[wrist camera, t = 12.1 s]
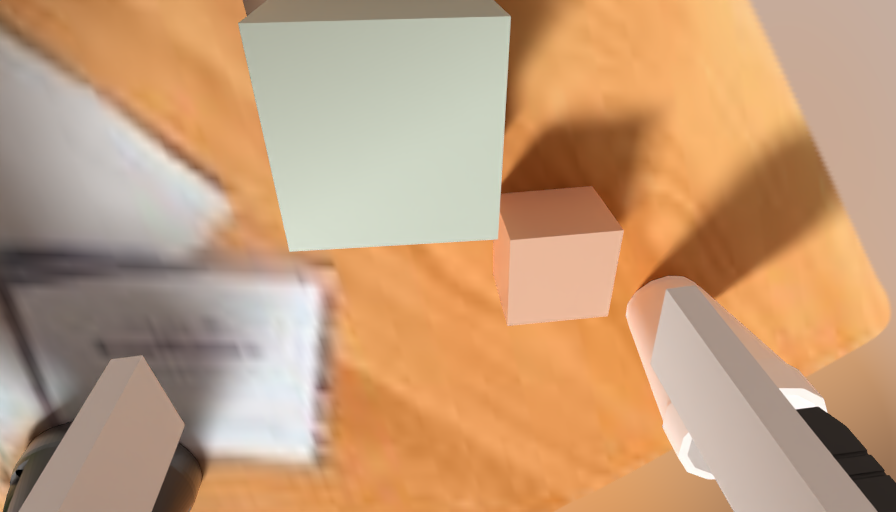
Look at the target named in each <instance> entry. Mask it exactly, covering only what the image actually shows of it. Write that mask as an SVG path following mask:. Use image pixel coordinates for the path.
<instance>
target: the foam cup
mask: <svg viewBox="0 0 896 512" xmlns="http://www.w3.org/2000/svg"><path fill="white" fill-rule="evenodd" d="M693 285H696V286H697V287H698V289H699V290H700V291H701V292H702V294H703V295H704V296H705V297H706V299H707V300H708V301H709V302H710V304H711V305H712V306H713V307H714V309H715V310H716V311H717V312H718V314H719V315H720V316H721V317H722V319H723V320H724V321H725V322H726V324H727V325H728V326H729V327H730V329H731V330H732V331H733V332H734V334H735V335H736V336H737V337H738V339H739V340H740V341H741V342H742V343H743V345H744V346H745V347H746V348H747V350H748V351H749V352H750V353H751V355H752V356H753V357H754V358H755V360H756V361H757V362H758V363H759V365H760V366H761V367H762V368H763V370H764V371H765V372H766V373H767V375H768V376H769V377H770V378H771V380H772V381H773V382H774V383H775V385H776V386H777V387H778V388H779V390H780V391H781V392H782V393H783V395H784V396H785V397H786V398H787V400H788V401H789V402H790V403H791V404H792V406H793V407H794V408H795V409H803V408H810V407H820V408H821V409H823V410H824V411H825V412H827V410H826V406H825V402H824V399H823V397H822V396H821V395H820V394H819V393H818V392H817V391H816V389H815V388H814V387H813V386H812V385H811V384H810V383H809V382H808V380H807V379H806V378H805V377H804V376H803V374H802V373H801V372H800V371H799V370H798V369H796V368H794V367H792V366H790V365H789V364H787V363H785V362H784V361H783V360H782V359H781V358H780V357H779V356H778V355H776V354H775V353H774V352H773V351H772V350H771V349H770V348H769V347H767V346H766V345H765V344H764V343H763V342H762V341H761V340H760V339H758V338H757V337H756V336H755V335H754V334H753V333H752V332H751V331H749V330H748V329H747V328H746V327H745V326H744V325H743V324H742V323H740V322H739V321H738V320H737V319H736V318H735V317H734V316H733V315H731V314H730V313H729V312H728V311H727V310H726V309H725V308H724V307H722V306H721V305H720V304H719V303H718V302H717V301H716V300H715V299H713V298H712V297H711V296H710V295H709V294H708V293H707V292H706V291H704V290H703V289H702V288H701V287H700V286H698V285H697V284H696V283H695V282H693V281H691V280H690V279H688V278H686V277H684V276H665V277H662V278H659V279H656V280H653V281H650V282H649V283H647V284H646V285H645V286H643V287H642V288H640V289H639V290H637V291H636V292H635V294H634V295H633V297H632V298H631V300H630V301H629V303H628V304H627V311H626V318H627V320H628V325H629V327H630V330H631V333H632V336H633V338H634V341H635V344H636V347H637V350H638V352H639V355H640V358H641V361H642V363H643V366H644V369H645V372H646V375H647V377H648V380H649V383H650V386H651V388H652V391H653V394H654V397H655V399H656V402H657V405H658V408H659V411H660V413H661V416H662V419H663V426H662V427H663V429H664V431H665V433H666V435H667V437H668V439H669V441H670V443H671V445H672V447H673V449H674V451H675V452H676V454H677V456H678V458H679V460H680V461H681V463H682V464H683V466H684V467H685V469H686V471H687V472H689V473H691V474H694V475H697V476H700V477H703V478H706V479H715V478H714V476H713V474H712V472H711V471H710V469H709V467H708V465H707V464H706V462H705V460H704V458H703V456H702V455H701V453H700V451H699V449H698V448H697V446H696V444H695V442H694V441H693V439H692V437H691V435H690V434H689V432H688V430H687V428H686V427H685V425H684V423H683V421H682V419H681V418H680V416H679V414H678V412H677V411H676V409H675V407H674V405H673V404H672V402H671V400H670V398H669V397H668V395H667V393H666V391H665V390H664V388H663V386H662V384H661V382H660V381H659V379H658V377H657V375H656V374H655V372H654V370H653V368H652V367H651V365H650V362H651V357H652V353H653V348H654V343H655V339H656V334H657V329H658V325H659V320H660V315H661V311H662V306H663V302H664V297H665V292H666V289H670V288H678V287H686V286H693Z"/></svg>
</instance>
